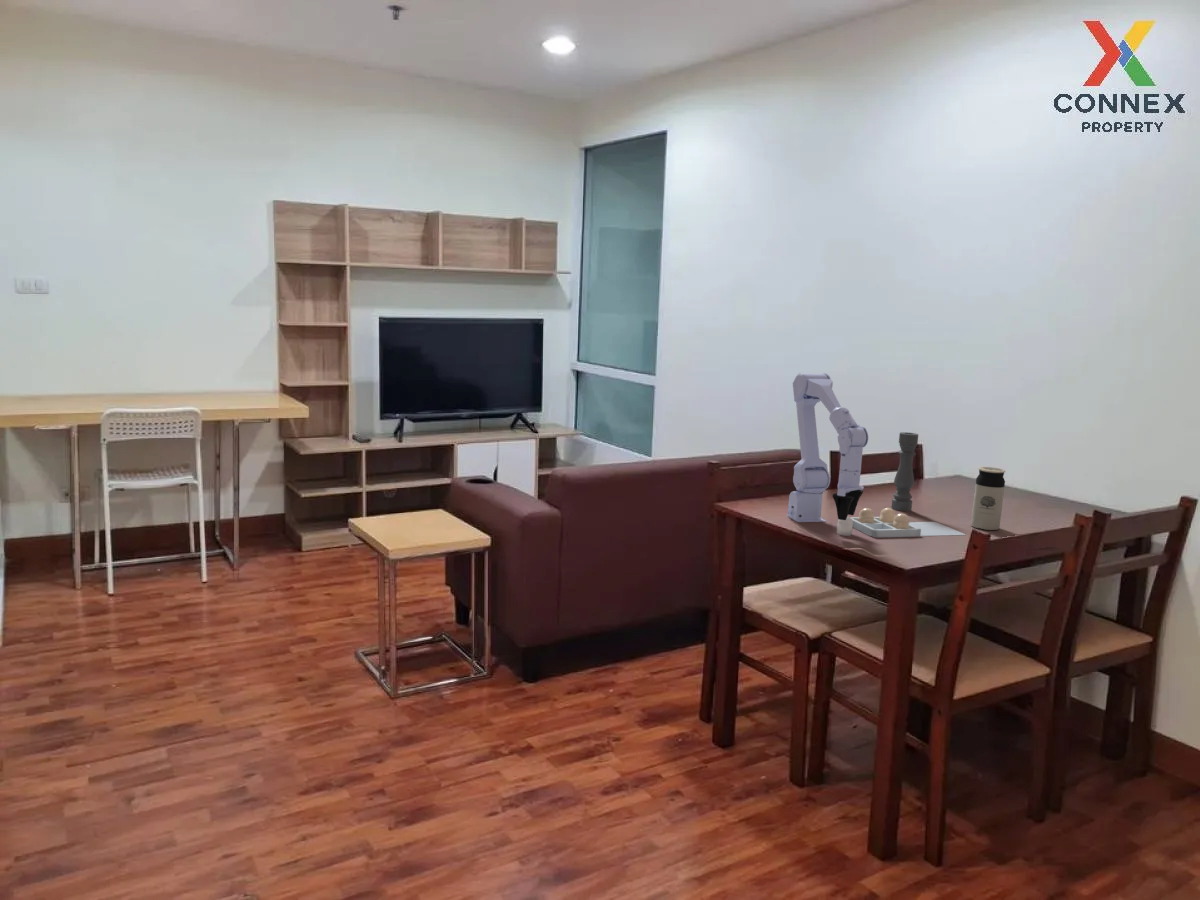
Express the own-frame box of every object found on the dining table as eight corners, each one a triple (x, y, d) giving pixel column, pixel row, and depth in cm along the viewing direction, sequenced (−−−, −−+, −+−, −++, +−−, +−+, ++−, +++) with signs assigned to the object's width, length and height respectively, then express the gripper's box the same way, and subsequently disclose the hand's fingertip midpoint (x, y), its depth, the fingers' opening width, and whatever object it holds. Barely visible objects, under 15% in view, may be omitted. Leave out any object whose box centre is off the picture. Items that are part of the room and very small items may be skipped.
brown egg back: (897, 534, 257) (899, 515, 256) (889, 531, 261) (891, 511, 260) (910, 534, 258) (912, 515, 257) (902, 530, 262) (904, 511, 261)
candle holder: (907, 508, 295) (914, 432, 290) (914, 512, 289) (922, 435, 284) (888, 507, 294) (895, 431, 290) (895, 512, 288) (902, 434, 284)
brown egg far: (884, 528, 264) (886, 509, 263) (876, 524, 268) (878, 506, 267) (897, 528, 265) (898, 509, 264) (889, 524, 269) (891, 506, 268)
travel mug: (975, 522, 278) (982, 465, 275) (1002, 527, 274) (1009, 469, 271) (967, 527, 272) (974, 468, 269) (994, 532, 267) (1001, 472, 264)
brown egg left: (862, 529, 262) (864, 509, 261) (855, 525, 266) (857, 506, 265) (875, 528, 263) (877, 509, 262) (868, 525, 267) (869, 506, 266)
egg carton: (873, 539, 253) (873, 530, 253) (846, 525, 267) (846, 517, 267) (966, 536, 261) (966, 528, 260) (934, 523, 275) (935, 515, 274)
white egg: (841, 537, 253) (842, 517, 252) (833, 533, 257) (835, 514, 256) (854, 537, 254) (856, 517, 253) (847, 533, 258) (848, 514, 257)
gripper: (857, 475, 244) (853, 524, 247) (871, 468, 257) (866, 514, 259) (831, 471, 248) (827, 520, 250) (846, 465, 260) (842, 510, 263)
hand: (845, 517), depth 255 cm, fingers open, 7 cm apart
